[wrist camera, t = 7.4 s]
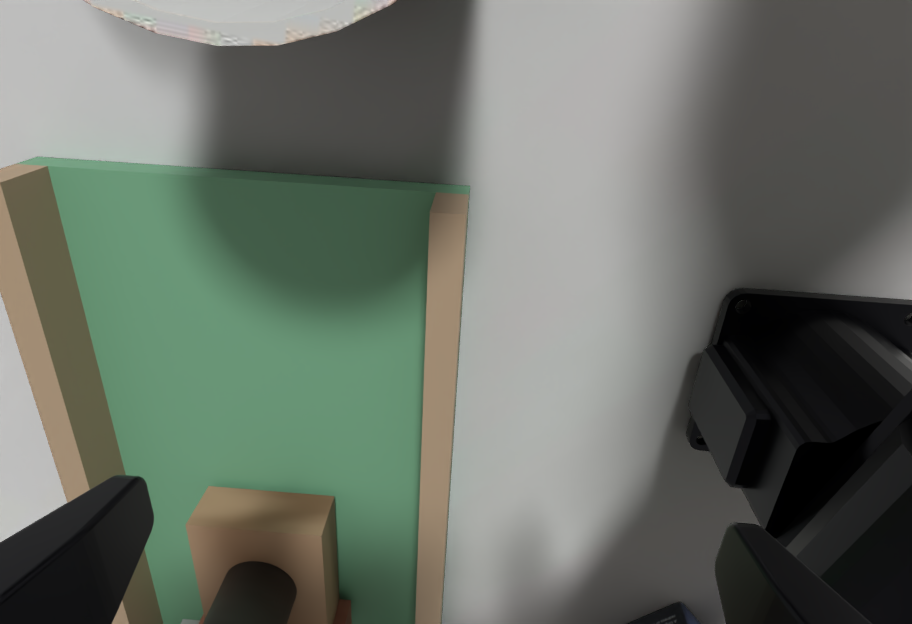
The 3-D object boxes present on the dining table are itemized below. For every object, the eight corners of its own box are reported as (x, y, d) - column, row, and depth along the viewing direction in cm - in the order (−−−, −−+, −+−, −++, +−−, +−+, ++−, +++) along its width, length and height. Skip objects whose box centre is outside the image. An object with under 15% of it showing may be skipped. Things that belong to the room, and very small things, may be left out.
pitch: (469, 185, 19) (462, 239, 15) (436, 697, 31) (427, 811, 27) (37, 156, 19) (-99, 200, 15) (171, 673, 32) (118, 782, 27)
